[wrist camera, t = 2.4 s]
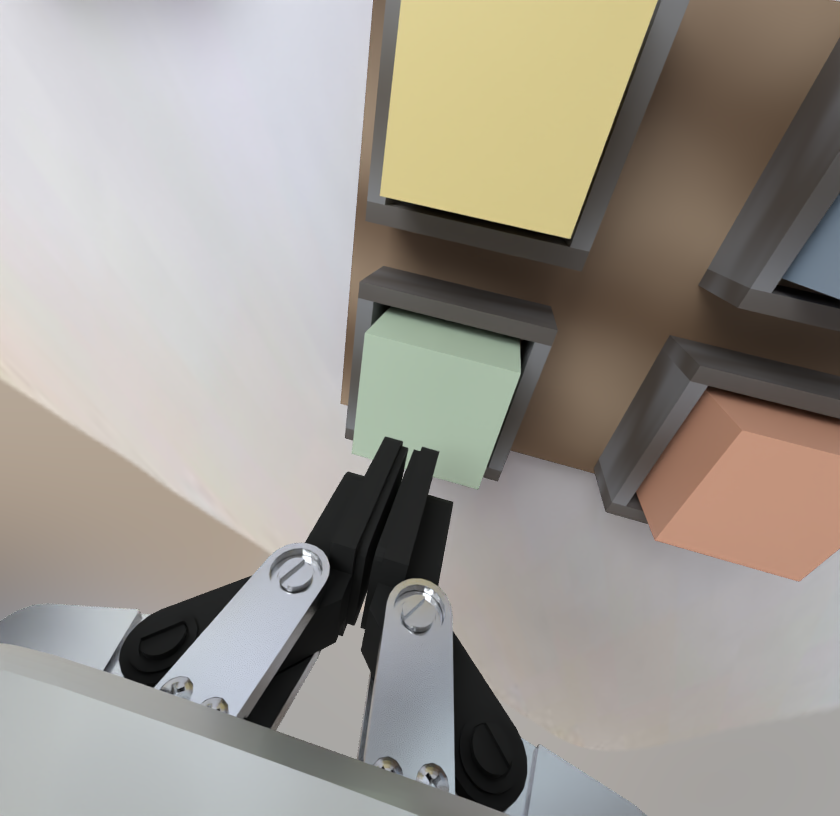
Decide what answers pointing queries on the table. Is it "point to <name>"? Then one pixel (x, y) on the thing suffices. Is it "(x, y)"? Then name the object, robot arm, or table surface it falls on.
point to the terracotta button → (749, 485)
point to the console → (638, 245)
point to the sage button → (435, 391)
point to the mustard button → (507, 104)
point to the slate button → (820, 256)
